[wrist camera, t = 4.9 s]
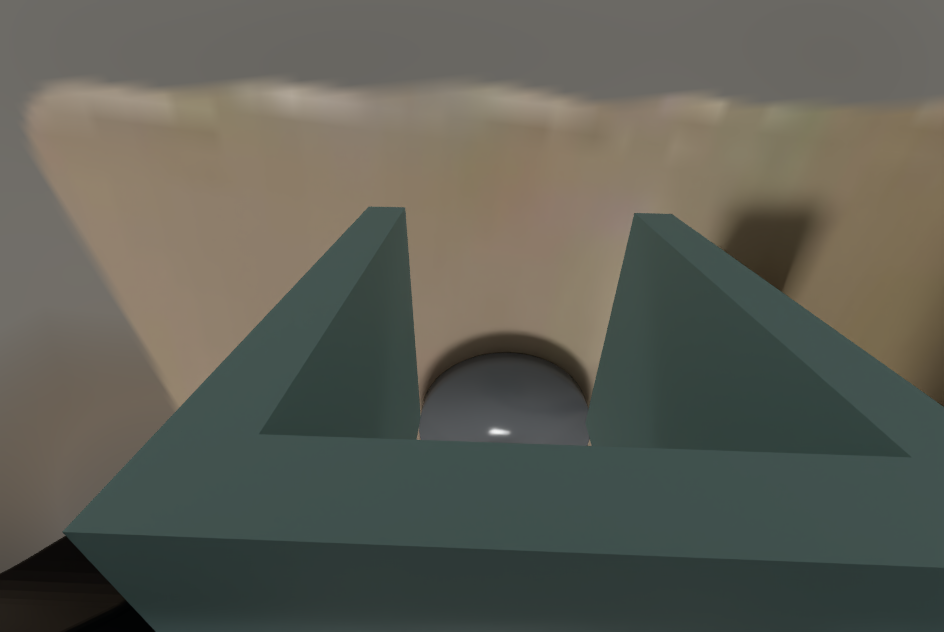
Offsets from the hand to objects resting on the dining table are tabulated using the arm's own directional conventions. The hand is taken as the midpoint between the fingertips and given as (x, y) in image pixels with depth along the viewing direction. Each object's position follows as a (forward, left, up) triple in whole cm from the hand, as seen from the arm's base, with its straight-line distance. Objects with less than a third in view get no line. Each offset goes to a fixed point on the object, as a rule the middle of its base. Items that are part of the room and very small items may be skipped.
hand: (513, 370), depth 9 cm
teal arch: (0, 0, -2) cm, 2 cm away
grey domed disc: (-1, +12, -10) cm, 16 cm away
